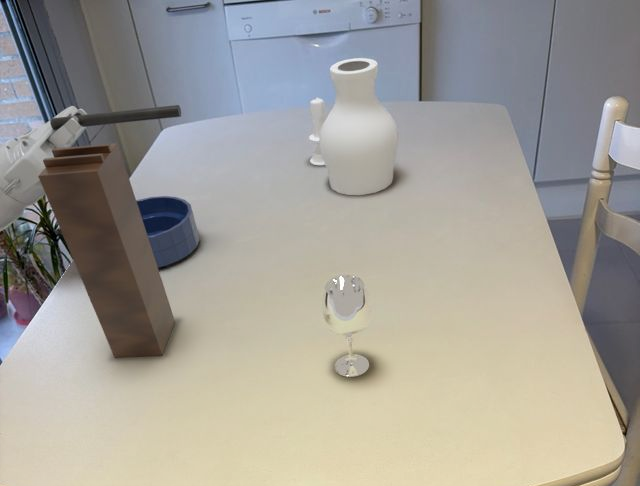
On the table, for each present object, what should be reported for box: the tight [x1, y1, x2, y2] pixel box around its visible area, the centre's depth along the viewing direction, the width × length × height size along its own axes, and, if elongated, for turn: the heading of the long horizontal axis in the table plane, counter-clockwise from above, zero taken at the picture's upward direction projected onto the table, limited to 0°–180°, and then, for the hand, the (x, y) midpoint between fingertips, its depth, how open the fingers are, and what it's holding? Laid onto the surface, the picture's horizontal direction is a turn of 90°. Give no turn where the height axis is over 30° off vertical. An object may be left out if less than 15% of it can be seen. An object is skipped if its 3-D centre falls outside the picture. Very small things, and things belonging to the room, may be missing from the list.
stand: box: [38, 142, 176, 358], centre depth 84 cm, size 7×8×27 cm
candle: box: [308, 97, 327, 166], centre depth 127 cm, size 5×5×12 cm
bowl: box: [136, 195, 201, 268], centre depth 110 cm, size 15×15×6 cm
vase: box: [319, 57, 399, 196], centre depth 115 cm, size 14×14×20 cm
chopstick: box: [49, 104, 182, 130], centre depth 97 cm, size 20×2×2 cm, turn 86°
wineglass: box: [322, 274, 372, 378], centre depth 79 cm, size 6×6×12 cm
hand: (81, 117), depth 97 cm, fingers closed on chopstick, 2 cm apart
